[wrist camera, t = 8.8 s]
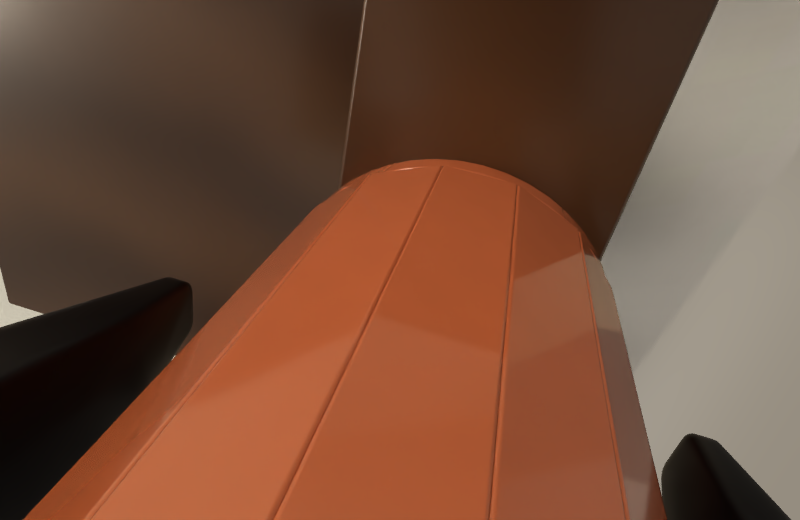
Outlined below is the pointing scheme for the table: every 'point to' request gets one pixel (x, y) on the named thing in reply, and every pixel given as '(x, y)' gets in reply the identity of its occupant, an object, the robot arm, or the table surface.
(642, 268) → the table surface
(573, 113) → the wooden table and bench
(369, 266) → the cup
